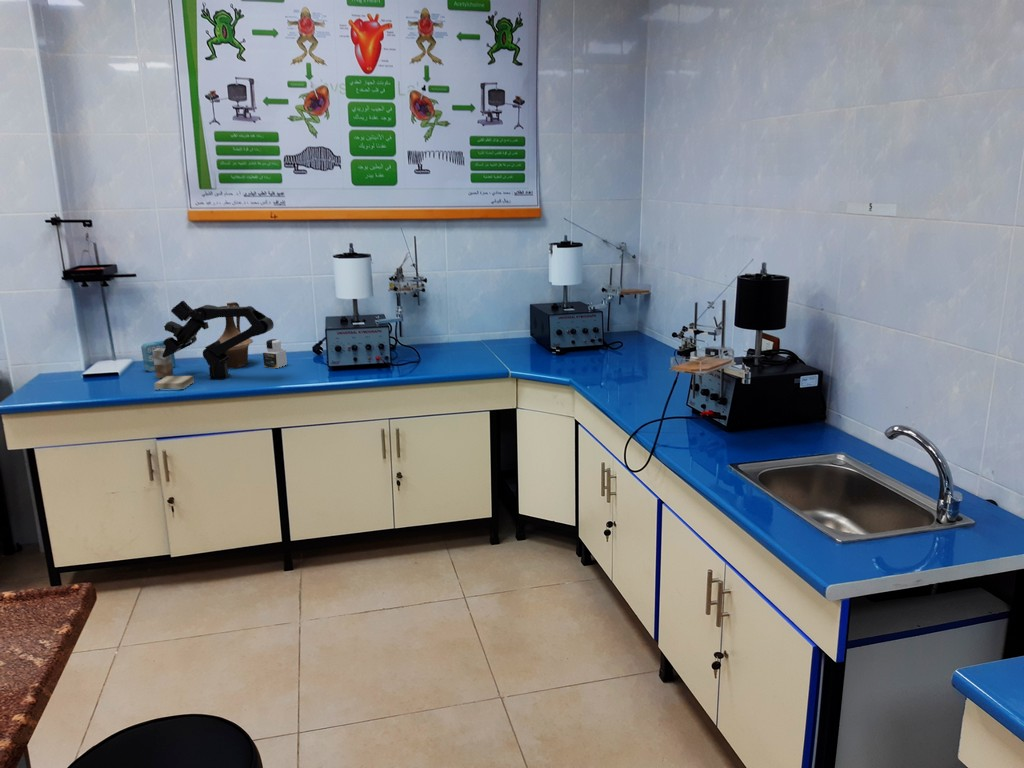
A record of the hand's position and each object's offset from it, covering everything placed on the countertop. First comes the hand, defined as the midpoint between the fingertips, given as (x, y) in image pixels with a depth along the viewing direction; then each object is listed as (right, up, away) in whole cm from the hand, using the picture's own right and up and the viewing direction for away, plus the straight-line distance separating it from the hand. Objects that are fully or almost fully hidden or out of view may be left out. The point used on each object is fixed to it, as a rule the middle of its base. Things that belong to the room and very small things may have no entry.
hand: (168, 354), depth 322 cm
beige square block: (+8, -14, -12) cm, 20 cm away
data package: (-10, -6, +16) cm, 20 cm away
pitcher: (+21, -4, +22) cm, 30 cm away
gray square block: (-3, -9, +3) cm, 10 cm away
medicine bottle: (+40, -5, +18) cm, 44 cm away
